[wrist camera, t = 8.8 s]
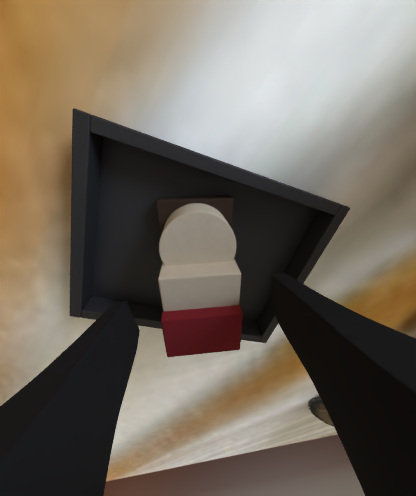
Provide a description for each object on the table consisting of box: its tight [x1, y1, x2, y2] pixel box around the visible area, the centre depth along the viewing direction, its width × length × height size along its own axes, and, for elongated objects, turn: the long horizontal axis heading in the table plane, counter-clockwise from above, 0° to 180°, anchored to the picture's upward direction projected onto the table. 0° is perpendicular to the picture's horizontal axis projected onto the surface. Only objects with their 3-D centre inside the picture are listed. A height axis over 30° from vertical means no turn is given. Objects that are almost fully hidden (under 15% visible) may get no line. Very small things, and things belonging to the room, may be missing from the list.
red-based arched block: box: [156, 195, 243, 357], centre depth 11 cm, size 8×4×5 cm, turn 1°
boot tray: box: [70, 109, 350, 343], centre depth 12 cm, size 15×12×2 cm
